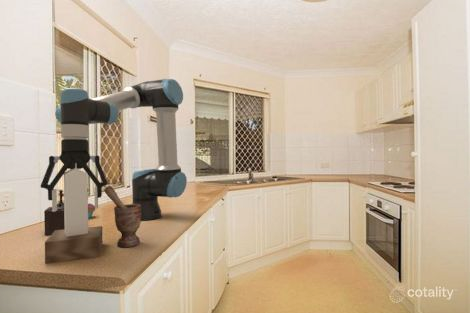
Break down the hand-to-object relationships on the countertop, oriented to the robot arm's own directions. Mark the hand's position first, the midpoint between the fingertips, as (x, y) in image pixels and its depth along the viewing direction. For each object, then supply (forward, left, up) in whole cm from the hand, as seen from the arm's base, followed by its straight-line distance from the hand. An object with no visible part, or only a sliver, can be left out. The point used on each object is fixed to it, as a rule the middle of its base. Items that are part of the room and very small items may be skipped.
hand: (76, 209), depth 92 cm
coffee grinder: (+7, -32, -14) cm, 36 cm away
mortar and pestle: (-14, -3, -14) cm, 20 cm away
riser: (0, 0, -13) cm, 13 cm away
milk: (0, 0, -8) cm, 8 cm away
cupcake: (+3, -55, -14) cm, 57 cm away
